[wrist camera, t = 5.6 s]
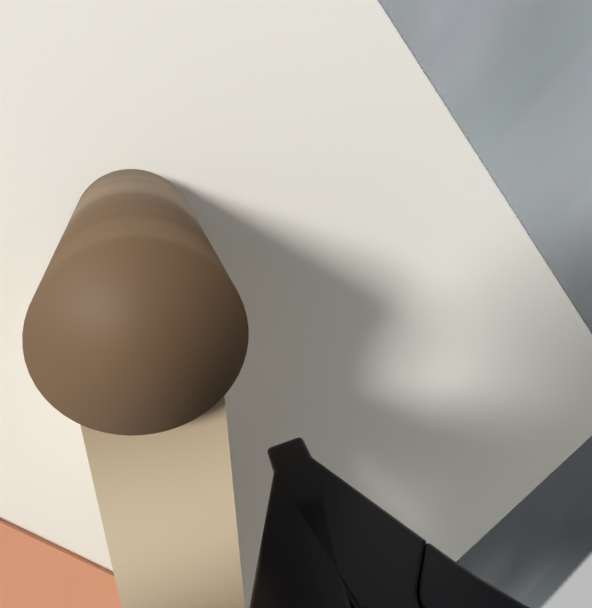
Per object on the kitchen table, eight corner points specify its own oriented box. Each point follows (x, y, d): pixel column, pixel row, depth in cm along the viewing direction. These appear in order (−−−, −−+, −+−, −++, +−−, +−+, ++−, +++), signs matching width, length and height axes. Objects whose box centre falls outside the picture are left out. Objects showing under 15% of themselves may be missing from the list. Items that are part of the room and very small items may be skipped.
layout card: (50, 922, 17) (48, 944, 16) (-974, 831, 8) (-1036, 872, 8) (620, 390, 16) (635, 399, 15) (121, -374, 7) (122, -405, 7)
